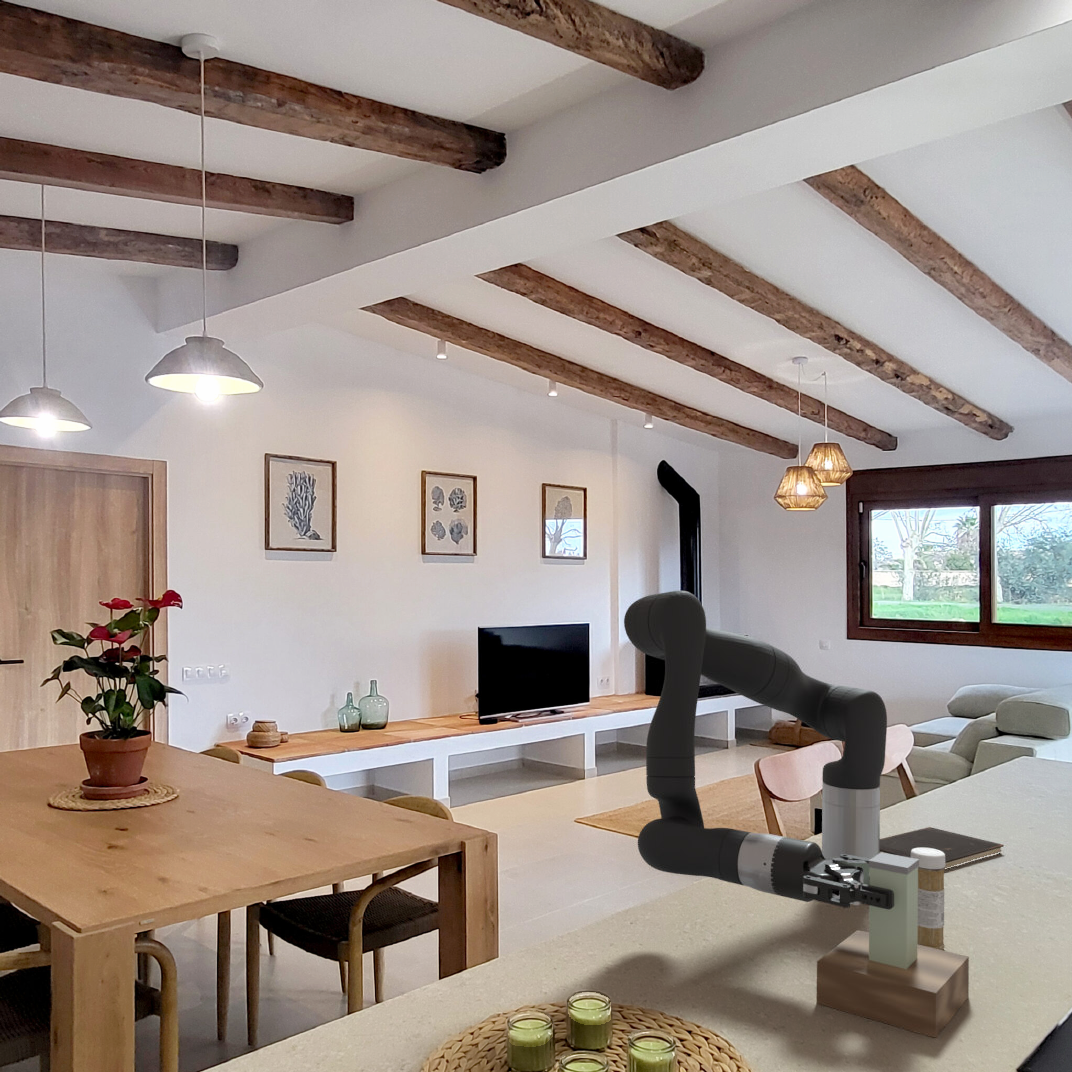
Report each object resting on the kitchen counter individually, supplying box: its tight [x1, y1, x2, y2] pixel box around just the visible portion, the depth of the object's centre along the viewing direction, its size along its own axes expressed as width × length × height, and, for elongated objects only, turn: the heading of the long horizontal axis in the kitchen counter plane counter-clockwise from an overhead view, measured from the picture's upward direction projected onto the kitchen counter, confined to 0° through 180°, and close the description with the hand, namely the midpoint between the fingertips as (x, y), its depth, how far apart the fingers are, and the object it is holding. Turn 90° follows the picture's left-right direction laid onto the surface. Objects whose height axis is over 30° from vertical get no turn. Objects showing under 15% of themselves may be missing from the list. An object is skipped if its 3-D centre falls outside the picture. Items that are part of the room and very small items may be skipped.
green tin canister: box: [868, 852, 919, 969], centre depth 123 cm, size 5×5×12 cm
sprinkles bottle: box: [911, 848, 945, 951], centre depth 141 cm, size 5×5×14 cm
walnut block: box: [816, 929, 970, 1039], centre depth 123 cm, size 14×14×5 cm
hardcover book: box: [880, 826, 1004, 868], centre depth 188 cm, size 16×23×2 cm
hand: (904, 891), depth 122 cm, fingers open, 8 cm apart
